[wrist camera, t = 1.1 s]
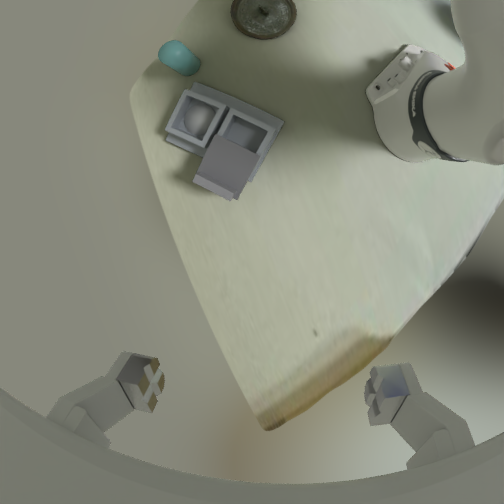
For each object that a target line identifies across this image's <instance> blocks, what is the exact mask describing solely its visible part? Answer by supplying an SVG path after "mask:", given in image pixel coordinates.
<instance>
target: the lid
mask: <svg viewBox="0 0 504 504" xmlns="http://www.w3.org/2000/svg"><path fill="white" fill-rule="evenodd" d="M296 12H297V11H296V6H295V4H294V2H293V1H292V0H234V1H233V3H232V6H231V16H232V19H233V22H234V24H235V26H236V27H237V29H238V30H240V31H241V32H242V33H244V34H246V35H248V36H252V37H254V38H258V39H272V38H275V37H278V36H280V35H282V34H284V33H285V32H286V31H287V30H289V29H290V27H291V26H292V25H293V23H294V22H295V19H296V15H297V14H296Z"/></svg>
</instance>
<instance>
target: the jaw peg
mask: <svg viewBox="0 0 504 504" xmlns="http://www.w3.org/2000/svg"><path fill="white" fill-rule="evenodd" d="M158 57H159V60H160V61H161V62H162V63H164V64H166V65H167V66H169V67H171V68H172V69H174V70H175V71H177V72H179V73H180V74H182V75H184V76H189V75H192V74H194V73H196V72H197V71H198V69H199V67H200V60H199V59H198V58H197V57H196V56H195V55H194V54H193V53H192V52H191V51H190V50H189V49H188V48H187V47H186V46H184V45H183V44H182V43H181V42H180V41H177V40H172V41H169V42H167V43H165V44H164V45H163V46H162V47H161V48H160V50H159V53H158Z"/></svg>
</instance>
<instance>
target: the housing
mask: <svg viewBox="0 0 504 504" xmlns="http://www.w3.org/2000/svg"><path fill="white" fill-rule="evenodd" d="M284 122H285V121H283V120H281V119H279V118H277V117H275V116H273V115H271V114H269V113H267V112H265V111H263V110H261V109H259V108H256V107H254V106H252V105H250V104H248V103H246V102H244V101H241V100H239V99H237V98H234V97H232V96H230V95H228V94H225V93H223V92H220V91H218V90H215V89H213V88H210V87H208V86H205V85H203V84H200V83H197V82H194V83H193V85H192V87H191V89H190V90H187V89H185V90H184V91H183V93H182V95H181V97H180V99H179V101H178V103H177V105H176V107H175V109H174V111H173V113H172V115H171V117H170V120H169V122H168V124H167V126H166V128H165V131H168V132H169V133H168V136H167V138H166V141H168V142H170V143H172V144H175V145H177V146H179V147H181V148H183V149H185V150H188V151H190V152H192V153H194V154H196V155H198V156H200V157H202V158H204V155H205V153H206V151H207V149H208V147H209V145H210V143H211V141H212V139H213V137H214V135H215V134H217V135H219V136H222V137H224V138H226V139H228V140H230V141H232V142H234V143H236V144H238V145H240V146H242V147H244V148H246V149H248V150H250V151H252V152H254V153H256V154H258V155H260V156H261V157H260V158H259V160H258V162H257V164H256V166H255V168H254V170H253V171H252V173H251V175H250V177H249V179H248V181H250V182H252V180H253V178H254V176H255V175H256V173H257V171H258V169H259V167H260V165H261V163H262V162H263V160H264V158H265V156H266V154H267V153H268V151H269V149H270V147H271V145H272V144H273V142H274V140H275V138H276V136H277V135H278V133H279V131H280V129H281V127H282V126H283V124H284Z"/></svg>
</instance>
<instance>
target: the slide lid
mask: <svg viewBox="0 0 504 504" xmlns="http://www.w3.org/2000/svg"><path fill="white" fill-rule="evenodd" d="M260 157H261V156H260V155H258V154H256V153H254V152H252V151H250V150H248V149H246V148H244V147H242V146H240V145H238V144H236V143H234V142H232V141H230V140H228V139H226V138H224V137H222V136H219V135H217V134H215V135H214V137H213V139H212V141H211V143H210V145H209V147H208V149H207V151H206V153H205V155H204V158H203V160H202V162H201V164H200V166H199V168H198V170H197V172H196V174H195V177H194V179H193V181H192V182H194V183H196V184H198V185H200V186H202V187H204V188H206V189H208V190H210V191H211V192H213V193H215V194H217V195H219V196H221V197H223V198H225V199H227V200H229V201H231V200H232V199H233V198H234V199H236V200H237V199H238V198H239V196H240V194H241V192H242V190H243V188H244V186H245V185H246V183H247V181H248V179H249V177H250V175H251V173H252V171H253V170H254V168H255V166H256V164H257V162H258V160H259V158H260Z"/></svg>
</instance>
